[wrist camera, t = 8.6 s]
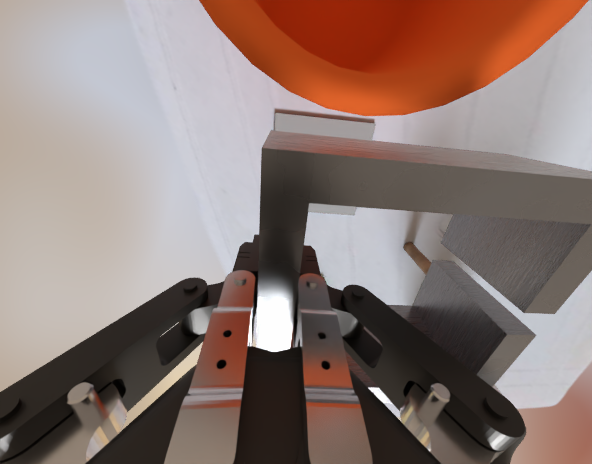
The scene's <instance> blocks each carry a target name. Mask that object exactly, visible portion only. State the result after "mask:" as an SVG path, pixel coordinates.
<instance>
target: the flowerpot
mask: <svg viewBox="0 0 592 464" xmlns="http://www.w3.org/2000/svg"><path fill="white" fill-rule="evenodd" d="M199 1H200V2H201V4H202V5H203V7H204V8H205V10H206V11H207V13H208V14H209V16H210V17H211V19H212V20H213V22H214V23H215V25H216V26H217V27H218V28H219V29H220V30H221V31H222V32H223V33H224V34H225V35H226V36H227V37H228V39H229V40H230V41H231V42H232V43H233V44H234V45H235V46H236V47H237V48H238V49H239V50H240V51H241V53H242V54H243V55H244V56H245V57H246V58H247V59H248V60H249V61H250V62H251V63H252V64H253V65H254V66H256V67H257V68H258V69H260V70H261V71H262V72H264V73H265V74H266V75H268V76H269V77H271V78H272V79H273V80H275V81H276V82H277V83H279V84H280V85H281V86H283V87H284V88H285V89H287V90H288V91H290V92H292V93H294V94H296V95H299V96H301V97H303V98H305V99H307V100H310V101H312V102H314V103H316V104H318V105H321V106H323V107H325V108H328V109H333V110H338V111H343V112H348V113H353V114H358V115H363V116H385V115H406V114H410V113H414V112H418V111H422V110H426V109H431V108H435V107H439V106H443V105H446V104H448V103H450V102H452V101H454V100H457V99H459V98H461V97H463V96H465V95H468V94H470V93H472V92H474V91H476V90H478V89H481V88H483V87H485V86H487V85H488V84H490V83H491V82H493V81H494V80H496V79H497V78H499V77H500V76H502V75H503V74H505V73H506V72H508V71H509V70H511V69H512V68H514V67H515V66H517V65H518V64H520V63H521V62H523V61H524V60H526V59H527V58H528V57H530V56H531V55H532V54H533V53H534V52H535V51H536V50H537V49H539V48H540V47H541V46H542V45H543V44H544V43H545V42H546V41H548V40H549V39H550V38H551V37H552V36H553V35H554V34H555V33H557V32H558V31H559V30H560V29H561V28H562V27H563V26H564V25H566V24H567V23H568V22H569V21H570V20H571V19H572V18H573V17H574V16H575V15H576V14H577V13H578V12H579V11H580V9H581V8H582V7H583V6H584V5H585V4H586V3H587V2H588V0H199Z"/></svg>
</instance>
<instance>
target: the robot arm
mask: <svg viewBox="0 0 592 464" xmlns="http://www.w3.org/2000/svg"><path fill="white" fill-rule="evenodd" d="M258 266H259V235H254V240H253V243H252V242H245V243H244V244H242V245H241V246H240V248H239V252H238V255H237V258H236V262H235V265H234V268H233V271H232V272H231V273H230V274H228V275H227V277H226V278H225V281H224V282H221V283H218V284H213V285H207V283H206V281H205V280H203V279H200V278H188V279H185V280H182V281H180V282H179V283H177V284H175V285H174V286H172V287H171V288H169V289H167V290H166V291H164V292H162V293H161V294H159V295H157V296H156V297H154V298H153V299H151V300H149V301H148V302H146V303H144V304H143V305H141V306H140V307H138V308H136V309H135V310H133V311H132V312H130V313H128V314H127V315H125V316H123V317H122V318H120V319H119V320H117V321H115V322H114V323H112V324H110V325H109V326H107V327H105V328H104V329H102V330H101V331H99V332H97V333H96V334H94V335H93V336H91V337H89V338H88V339H86V340H84V341H83V342H81V343H79V344H78V345H76V346H75V347H73V348H71V349H70V350H68V351H66V352H65V353H63V354H62V355H60V356H58V357H57V358H55V359H53V360H52V361H50V362H49V363H47V364H45V365H44V366H42V367H40V368H39V369H37V370H36V371H34V372H32V373H31V374H29V375H27V376H26V377H24V378H23V379H21V380H19V381H18V382H16V383H14V384H13V385H11V386H10V387H8V388H6V389H5V390H3V391H1V392H0V464H510V461H511V457H512V455H513V453H514V451H515V449H516V448H517V447H518V445H519V444H520V443H521V441H522V440H523V439H524V437H525V435H526V427H525V424H524V421H523V419H522V417H521V415H520V413H519V412H518V410H517V409H516V408H515V406H514V405H513V404H512V403H511V402H510V401H509V400H508V399H507V398H505V397H504V396H503V395H502V394H501V392H500V391H499V390H498V388H497V387H496V386H495V385H493V387H492V386H490V385H489V384H488V383H486V382H485V381H484V380H483V379H481V378H480V377H479V376H477V375H476V374H475V373H474V372H472V371H471V370H470V369H468V368H467V367H466V366H465V365H463V364H462V363H461V362H459V361H458V360H457V359H456V358H454V357H453V356H452V355H450V354H449V353H448V352H447V351H445V350H444V349H443V348H441V347H440V346H439V345H438V344H436V343H435V342H434V341H432V340H431V339H430V338H429V337H427V336H426V335H425V334H423V333H422V332H421V331H420V330H418V329H417V328H416V327H414V326H413V325H412V324H411V323H409V322H408V321H407V320H406V319H404V318H403V317H402V316H400V315H399V314H398V313H397V312H395V311H394V310H393V309H391V308H390V307H389V306H388V305H386V304H385V303H384V302H382V301H381V300H380V299H379V298H377V297H376V296H375V295H373V294H372V293H371V292H370V291H368V290H367V289H365V288H364V287H361V286H358V285H348V286H346V287H345V288H344V289H343V291H342V290H338V289H335V288H332V287H330V286H328V285H327V284H326V281H325V280H324V278H322V277H321V275H320V270H319V266H318V262H317V257H316V253H315V250H314V249H313V248H312V247H311V246H303V253H302V261H301V269H300V276H299V284H298V291H297V299H296V306H295V314H294V322H293V348H290V349H285V350H281V351H277V352H272V351H268V350H264V349H261V348H257V347H253V346H252V343H253V331H254V317H255V314H256V308H257V301H258ZM178 322H179V323H178ZM176 323H178V324H177V325H175V324H176ZM174 325H175V326H174ZM172 326H174V327H173V328H171V327H172ZM364 326H365V327H366V328H367V329H368V330H369V331H370V332H371V333H372V334H373V335H374V336H375V337H376V338H377V339H378V340H379V341H380V342H381V344H382V345H381V344H379V343H378V342H377V341H376V340H375V339H374V338H373V337H372V336H371V335H370V334H369V333H368V332H367V331H366V330H365V329H364ZM170 328H171V329H170ZM169 329H170V330H169ZM167 330H169V331H168V332H166V331H167ZM165 332H166V333H165ZM163 333H165V334H164V335H162V334H163ZM161 335H162V336H161ZM160 336H161V337H160ZM202 342H203V345H202V348H201V352H200V355H199V359H198V362H197V365H195V366H194V367H193V368H191V369H190V370H189V371H188V372H187V373H186V374H185V375H183V376H182V378H180V379H179V380H178V381H177V382H176V383H174V385H172V386H171V387H170V388H169V389H168V390H167V391H166V392H165V393H164V394H162V395H161V396H160V397H159V398H158V399H157V400H156V401H154V402H153V403H152V404H151V405H150V406H149V407H148V408H147V409H146V410H144V411H143V412H142V413H141V414H140V415H139V416H138V417H137V418H135V419H134V420H133V421H132V422H131V423H130V424H129V425H128V426H126V427H125V428H124V429H123V430H122V431H121V432H120V430H121V429H122V427H123V425H124V423H125V421H126V417H127V412H128V411H129V410H130V409H131V408H132V407H133V406H134V405H136V403H137V402H139V401H140V400H141V399H142V398H143V397H144V396H145V395H146V394H147V393H148V392H149V391H151V389H153V388H154V387H155V386H156V385H157V384H158V383H159V382H160V381H161V380H162V379H163V378H164V377H165V376H167V375H168V374H169V373H170V372H171V371H172V370H173V369H174V368H175V367H176V366H177V365H178V364H179V363H180V362H181V361H182V360H184V359H185V358H186V357H187V356H188V355H189V354H190V353H191V352H192V351H193V350H194V349H195V348H196V347H197V346H199V345H200V344H201V343H202ZM345 351H346V352H347V353H348V354H349V355H350V356H351V358H352V359H353V360H354V361H355V362H356V363H357V364H358V365H359V366H360V367H361V369H362V370H363V371H364V372H365V373H366V374H367V375H368V376H369V377H370V379H371V380H372V381H373V382H374V383H375V384H376V385H377V386H378V387H379V389H380V390H381V391H382V392H383V393H384V394H385V395H386V396H387V397H388V399H389V400H390V401H391V402H392V403H393V404H394V405H395V406H396V407H397V409H398V410H399V411H400V417H401V420H402V422H401V421H400V420H399V419H398V418H397V417H396V416H395V415H394V414H393V413H392V412H391V411H390V410H389V409H388V408H387V407H386V406H385V405H384V404H383V403H382V402H381V400H380V399H379V398H378V397H377V396H376V395H375V394H374V393H373V392H372V391H371V390H370V389H369V388H368V387H367V386H366V385H365V384H364V383H363V382H362V381H361V380H360V379H359V378H358V377H357V376H356V375H355V374H354V372H353V371H352V370H350V369H349V367H348V363H347V358H346V353H345ZM119 432H120V433H119ZM118 433H119V434H118Z"/></svg>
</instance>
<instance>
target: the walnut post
mask: <svg viewBox="0 0 592 464" xmlns="http://www.w3.org/2000/svg"><path fill="white" fill-rule="evenodd" d="M404 250H405V251H406V252H407V253H408V255H409V256H410V257H411V258H412V259H413V260H414V261H415V263H416V264H417V265H418V266H419V267H420V268H421V270H422V271H423V272H424V273H425V274H427V272H428V270H429V268H430V265H431V262H430V261H429V260H428V259H427V258H426V257H425V256H424V255H423V254H422V253H421V252H420V251H419V250H418V249H417V248H416V247H415V245H414V244H413V243H411V242H409V243H406V244H405V245H404Z"/></svg>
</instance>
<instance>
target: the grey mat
mask: <svg viewBox="0 0 592 464" xmlns="http://www.w3.org/2000/svg"><path fill="white" fill-rule="evenodd" d="M374 128H375V124H374V123H365V122H356V121H346V120H337V119H328V118H319V117H310V116H300V115H291V114H282V113H275V130H274V131H283V132H293V133H302V134H312V135H322V136H332V137H342V138H351V139H361V140H371V141H372V137H373V133H374ZM355 211H356V207H353V206H340V205H326V204H313V203H309V208H308V212H315V213H328V214H341V215H355Z"/></svg>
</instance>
